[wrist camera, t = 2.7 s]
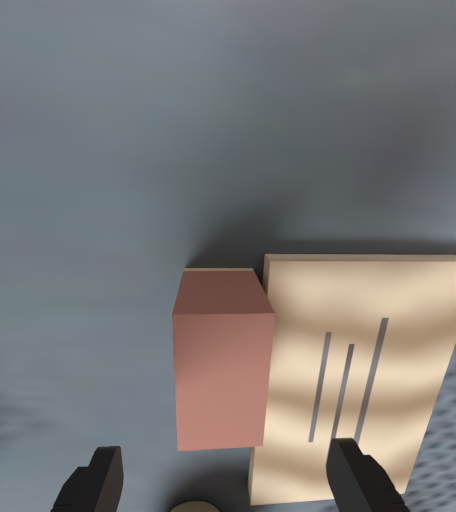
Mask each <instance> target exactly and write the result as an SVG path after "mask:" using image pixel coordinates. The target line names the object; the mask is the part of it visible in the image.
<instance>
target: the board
mask: <svg viewBox="0 0 456 512" xmlns="http://www.w3.org/2000/svg"><path fill="white" fill-rule="evenodd" d="M262 288H263V290H264V292H265V294H266V296H267V298H268V300H269V302H270V304H271V306H272V308H273V310H274V312H275V322H274V332H273V343H272V354H271V364H270V375H269V386H268V396H267V407H266V418H265V428H264V439H263V446H257V447H251V449H250V463H249V476H248V490H249V498H250V505H251V506H252V505H265V504H277V503H290V502H302V501H314V500H327V499H334V497H333V494H332V491H331V489H330V486H329V483H328V479H327V474H326V463H327V458H328V453H329V448H330V443H331V440H332V438H353V439H354V440H355V441H356V443H357V444H358V446H359V448H360V450H361V452H362V453H363V455H371V456H372V457H373V458H374V459H375V460H376V461H377V462H378V463H379V464H380V465H381V466H382V467H383V468H384V469H385V471H386V473H387V474H388V476H389V478H390V479H391V481H392V483H393V484H394V486H395V489H396V491H398V492H399V494H402V493H405V490H406V487H407V484H408V481H409V478H410V475H411V472H412V469H413V466H414V463H415V460H416V457H417V454H418V452H419V449H420V446H421V443H422V440H423V437H424V434H425V431H426V428H427V425H428V422H429V419H430V416H431V413H432V411H433V408H434V405H435V402H436V399H437V396H438V393H439V390H440V387H441V384H442V381H443V378H444V375H445V372H446V370H447V367H448V364H449V361H450V358H451V355H452V352H453V349H454V346H455V343H456V255H391V254H265V257H264V271H263V285H262Z"/></svg>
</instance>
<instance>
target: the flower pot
mask: <svg viewBox="0 0 456 512" xmlns="http://www.w3.org/2000/svg"><path fill="white" fill-rule="evenodd" d="M170 512H219V510H218V509H217V508H216V507H215V506H213V505H212V504H210V503H207V502H203V501H190V502H185V503H182V504H180V505H178V506H176V507H175V508H173V509H172V510H171V511H170Z"/></svg>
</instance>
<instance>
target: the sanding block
mask: <svg viewBox="0 0 456 512" xmlns="http://www.w3.org/2000/svg"><path fill="white" fill-rule="evenodd" d="M172 320H173V344H174V369H175V394H176V419H177V444H178V451H189V450H206V449H223V448H240V447H257V446H263V439H264V428H265V418H266V407H267V396H268V386H269V375H270V364H271V354H272V343H273V332H274V322H275V312H274V310H273V308H272V306H271V304H270V302H269V300H268V298H267V296H266V294H265V292H264V290H263V288H262V286H261V284H260V282H259V280H258V278H257V276H256V274H255V272H254V270H253V268H184V271H183V275H182V279H181V283H180V287H179V291H178V295H177V299H176V302H175V306H174V310H173V314H172Z"/></svg>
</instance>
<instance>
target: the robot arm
mask: <svg viewBox="0 0 456 512" xmlns="http://www.w3.org/2000/svg"><path fill="white" fill-rule="evenodd" d="M326 474H327V479H328V483H329V486H330V489H331V491H332V494H333V497H334V499H335V502H336V504H337V507H338V509H339V512H410V511H409V509H408V507H407V506H405V503H404V501H403V499H402V497H401V496H400V494H399V492H398V491H396V489H395V486H394V484H393V483H392V481H391V479H390V478H389V476H388V474H387V473H386V471H385V469H384V468H383V467H382V466H381V465H380V464H379V463H378V462H377V461H376V460H375V459H374V458H373V457H372V456H371V455H363V453H362V452H361V450H360V448H359V446H358V444H357V443H356V441H355V440H354V439H353V438H332V440H331V443H330V448H329V453H328V458H327V463H326ZM123 477H124V475H123V465H122V456H121V448H120V446H109V447H98V448H97V449H96V451H95V452H94V455H93V457H92V459H91V462H90V464H89V466H88V467H78V468H77V469H76V470H75V471H74V473H73V474H72V475H71V476H70V477H69V479H68V480H67V481H66V482H65V483H64V485H63V487H62V489H61V491H60V493H59V495H58V497H57V499H56V501H55V503H54V505H53V509H51V511H50V512H116V511H117V507H118V504H119V500H120V497H121V492H122V487H123Z"/></svg>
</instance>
